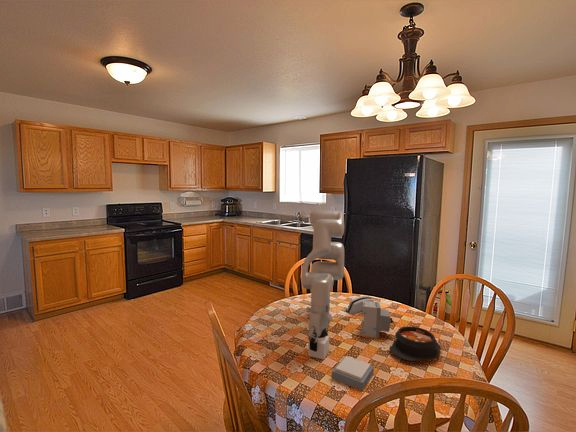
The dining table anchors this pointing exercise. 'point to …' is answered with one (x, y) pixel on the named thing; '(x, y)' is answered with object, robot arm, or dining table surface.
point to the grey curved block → (357, 304)
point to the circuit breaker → (374, 319)
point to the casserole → (415, 344)
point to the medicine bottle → (320, 346)
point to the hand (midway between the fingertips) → (318, 345)
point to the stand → (353, 372)
